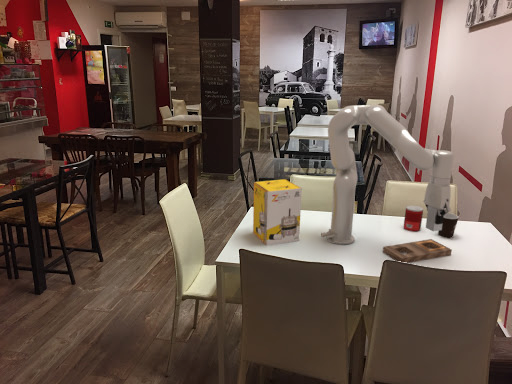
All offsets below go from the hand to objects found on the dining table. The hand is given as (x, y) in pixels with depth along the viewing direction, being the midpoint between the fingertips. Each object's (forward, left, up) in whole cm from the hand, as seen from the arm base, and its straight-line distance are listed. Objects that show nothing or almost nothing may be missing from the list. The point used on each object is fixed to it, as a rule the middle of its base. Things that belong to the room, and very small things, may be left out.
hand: (434, 221), depth 177 cm
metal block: (0, 0, -3) cm, 3 cm away
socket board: (-7, 0, -14) cm, 16 cm away
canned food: (+11, +24, -14) cm, 30 cm away
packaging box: (-57, +37, -14) cm, 70 cm away
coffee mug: (+22, +12, -14) cm, 29 cm away
